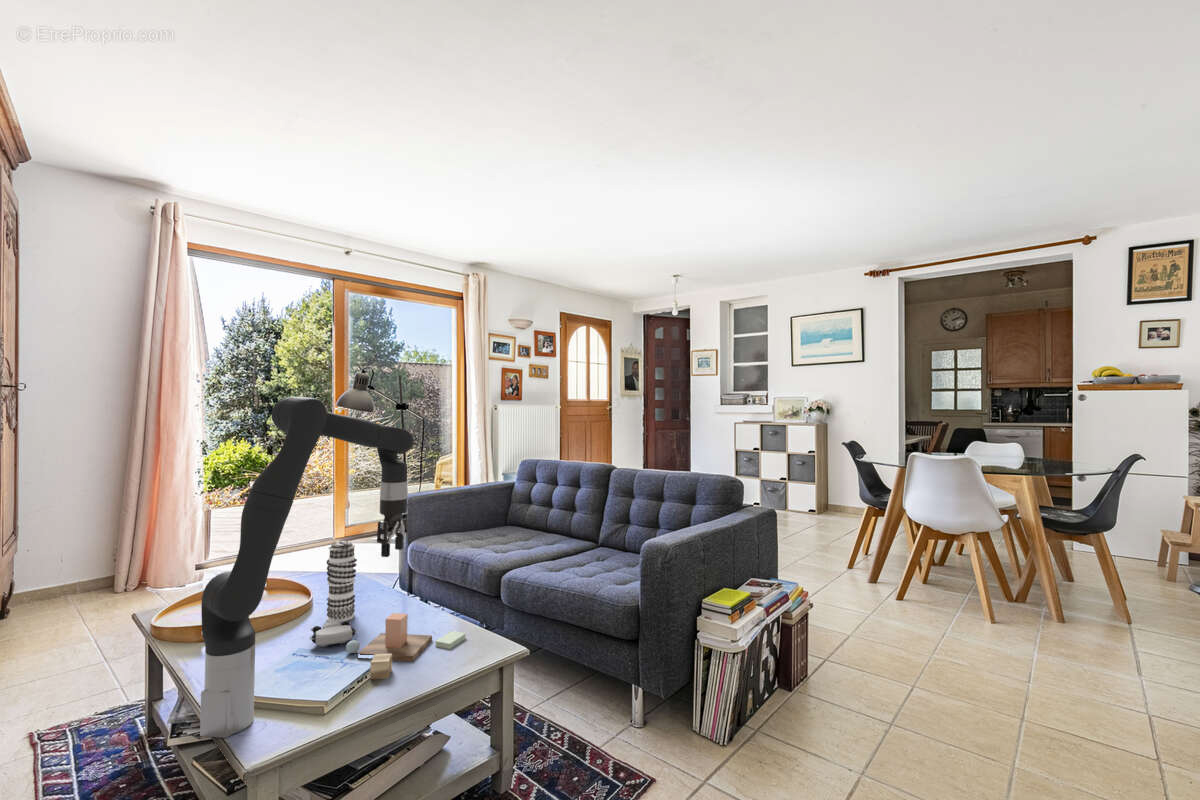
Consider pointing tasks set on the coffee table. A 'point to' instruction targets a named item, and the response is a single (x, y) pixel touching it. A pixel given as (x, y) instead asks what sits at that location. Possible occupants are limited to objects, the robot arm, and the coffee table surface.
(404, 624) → the terracotta block
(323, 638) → the robot toy
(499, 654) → the coffee table surface
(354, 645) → the grey ball
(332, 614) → the grey banded tower model
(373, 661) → the beech cube
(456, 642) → the sage flat block
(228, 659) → the robot arm
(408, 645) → the walnut board
